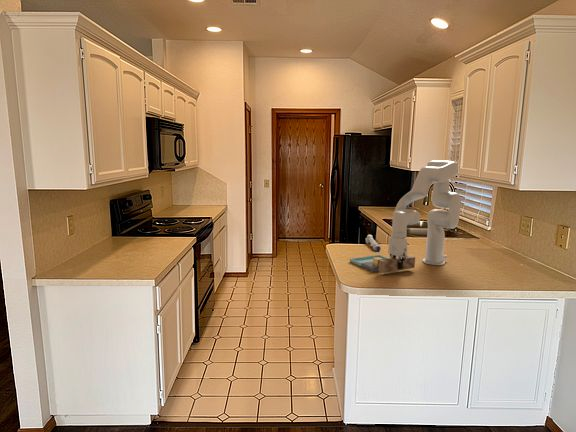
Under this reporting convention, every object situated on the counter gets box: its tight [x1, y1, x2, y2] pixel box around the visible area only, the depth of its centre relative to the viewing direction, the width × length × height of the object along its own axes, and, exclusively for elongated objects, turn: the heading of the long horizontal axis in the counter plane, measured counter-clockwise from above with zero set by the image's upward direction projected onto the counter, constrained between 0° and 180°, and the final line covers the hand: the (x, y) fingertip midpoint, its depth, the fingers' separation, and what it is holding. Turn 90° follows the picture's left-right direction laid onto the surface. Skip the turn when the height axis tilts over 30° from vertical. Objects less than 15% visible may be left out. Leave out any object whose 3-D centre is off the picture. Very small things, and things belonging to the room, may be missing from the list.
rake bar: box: [378, 254, 416, 274], centre depth 220 cm, size 22×4×6 cm, turn 118°
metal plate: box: [361, 261, 379, 273], centre depth 229 cm, size 22×10×2 cm, turn 118°
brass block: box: [372, 257, 383, 267], centre depth 223 cm, size 4×4×4 cm
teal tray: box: [349, 254, 389, 268], centre depth 238 cm, size 22×10×2 cm, turn 118°
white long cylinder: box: [365, 234, 381, 252], centre depth 276 cm, size 5×7×25 cm
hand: (396, 267), depth 220 cm, fingers closed on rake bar, 4 cm apart
